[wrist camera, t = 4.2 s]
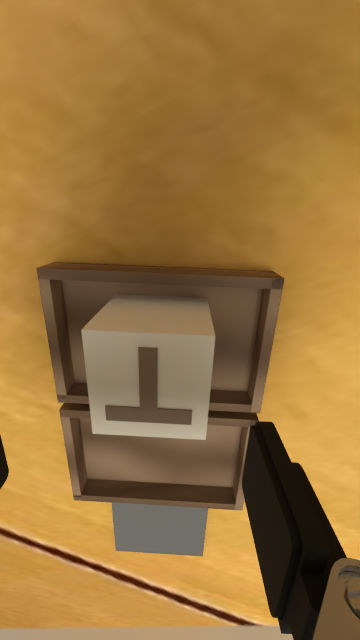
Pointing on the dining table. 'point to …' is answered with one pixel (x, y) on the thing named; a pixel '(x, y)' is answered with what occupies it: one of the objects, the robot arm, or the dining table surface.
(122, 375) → the letter cube
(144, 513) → the coaster
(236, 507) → the tray
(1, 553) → the dining table surface
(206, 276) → the tray
